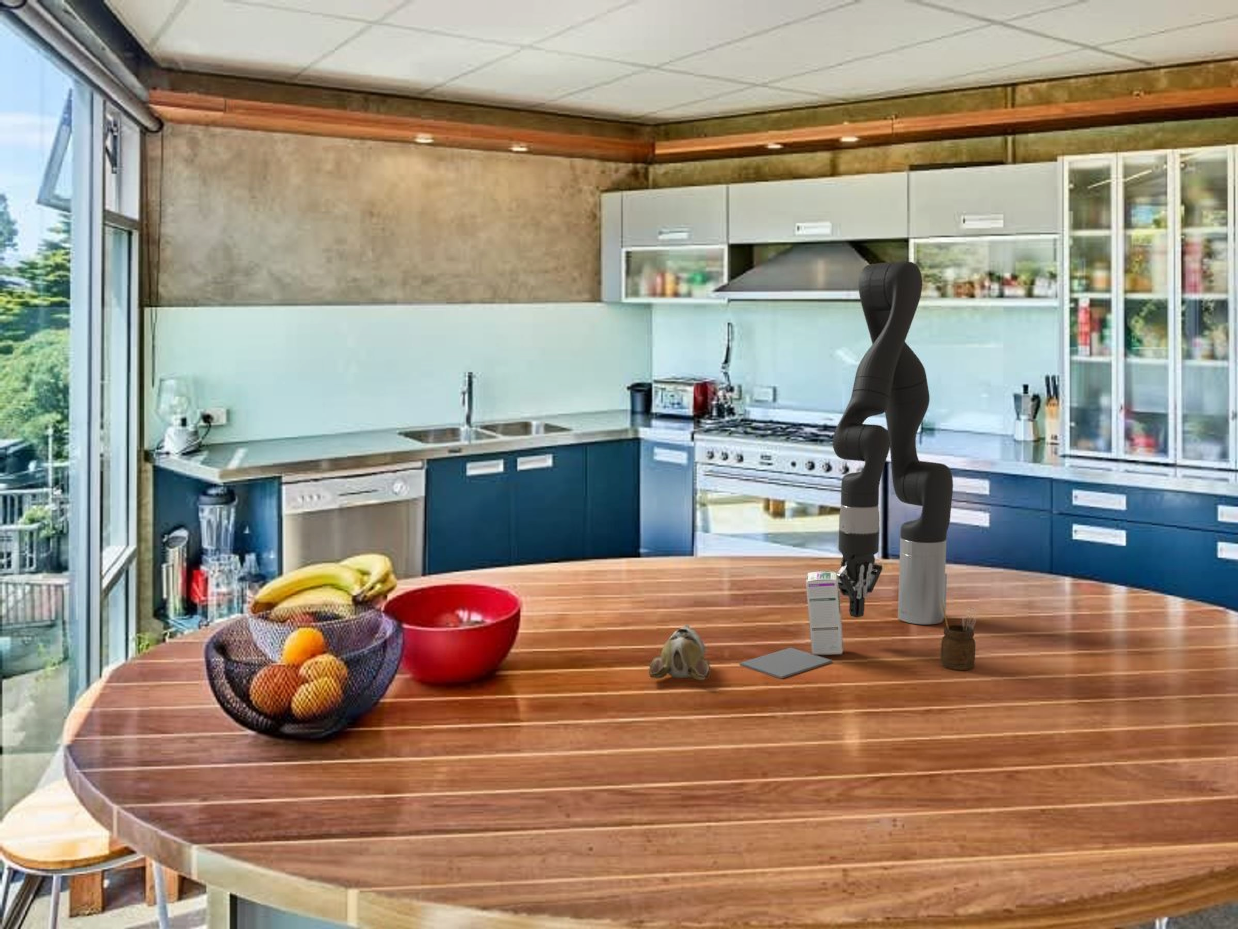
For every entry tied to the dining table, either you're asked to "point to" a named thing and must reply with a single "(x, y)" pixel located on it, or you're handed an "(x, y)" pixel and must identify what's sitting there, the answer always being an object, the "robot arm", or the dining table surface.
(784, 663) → the mat
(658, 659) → the ceramic sculpture
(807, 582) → the syrup box
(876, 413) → the robot arm
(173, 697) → the dining table surface
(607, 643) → the dining table surface
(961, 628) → the utensil holder
